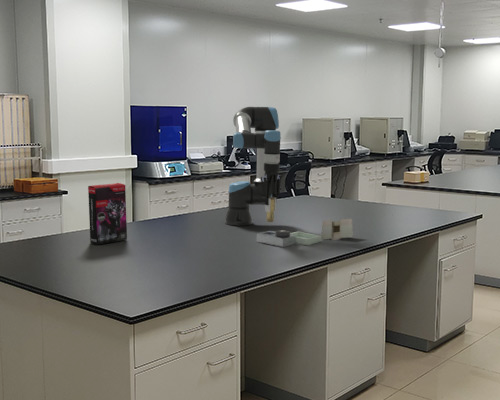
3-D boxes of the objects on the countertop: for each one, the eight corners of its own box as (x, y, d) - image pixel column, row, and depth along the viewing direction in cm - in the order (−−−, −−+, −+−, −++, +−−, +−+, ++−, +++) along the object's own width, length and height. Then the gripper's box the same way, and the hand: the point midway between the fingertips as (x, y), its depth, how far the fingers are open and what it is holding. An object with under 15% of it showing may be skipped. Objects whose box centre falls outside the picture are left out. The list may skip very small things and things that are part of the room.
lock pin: (264, 221, 296) (265, 196, 294) (269, 220, 299) (270, 196, 297) (270, 222, 294) (271, 197, 292) (275, 221, 296) (275, 197, 294)
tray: (283, 240, 299) (283, 234, 299) (298, 237, 308) (298, 231, 308) (306, 245, 290) (307, 239, 290) (321, 241, 299) (321, 235, 299)
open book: (355, 247, 307) (354, 223, 317) (353, 236, 301) (352, 213, 311) (323, 249, 311) (323, 226, 321) (320, 239, 305) (320, 216, 315)
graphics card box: (96, 245, 280) (95, 187, 275) (88, 243, 284) (87, 185, 280) (127, 240, 292) (127, 184, 288) (118, 238, 297) (118, 182, 292)
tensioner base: (256, 241, 296) (256, 228, 295) (269, 238, 304) (269, 225, 303) (282, 247, 286) (283, 233, 285) (295, 243, 293) (295, 230, 292)
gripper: (266, 164, 283) (265, 214, 287) (288, 162, 295) (286, 210, 299) (254, 163, 288) (253, 212, 292) (276, 161, 300) (274, 207, 304)
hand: (270, 210), depth 295 cm, fingers closed on lock pin, 3 cm apart
